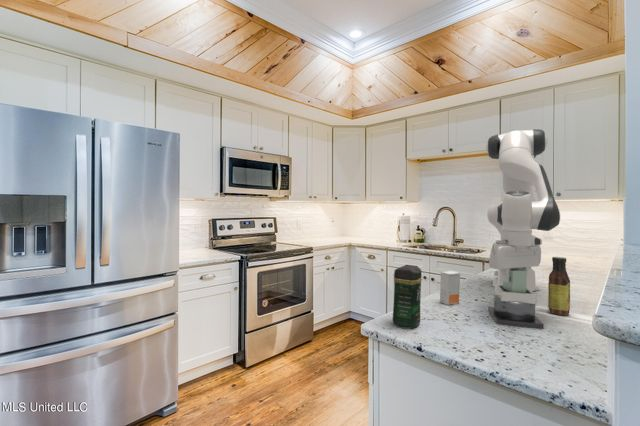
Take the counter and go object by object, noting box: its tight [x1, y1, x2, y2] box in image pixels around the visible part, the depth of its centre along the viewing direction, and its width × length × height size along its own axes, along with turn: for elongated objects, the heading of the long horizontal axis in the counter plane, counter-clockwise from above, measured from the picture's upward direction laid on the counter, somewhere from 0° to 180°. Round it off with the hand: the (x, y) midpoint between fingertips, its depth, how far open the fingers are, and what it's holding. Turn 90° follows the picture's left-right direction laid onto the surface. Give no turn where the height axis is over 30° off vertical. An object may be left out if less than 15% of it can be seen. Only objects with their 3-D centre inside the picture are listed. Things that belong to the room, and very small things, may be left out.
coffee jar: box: [392, 264, 422, 329], centre depth 103 cm, size 10×8×19 cm
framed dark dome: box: [487, 285, 545, 330], centre depth 109 cm, size 14×13×10 cm
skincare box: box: [439, 270, 461, 306], centre depth 126 cm, size 6×4×12 cm
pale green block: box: [503, 268, 527, 293], centre depth 108 cm, size 6×4×8 cm
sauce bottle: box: [547, 256, 571, 316], centre depth 115 cm, size 6×6×20 cm
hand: (514, 280), depth 108 cm, fingers closed on pale green block, 6 cm apart
